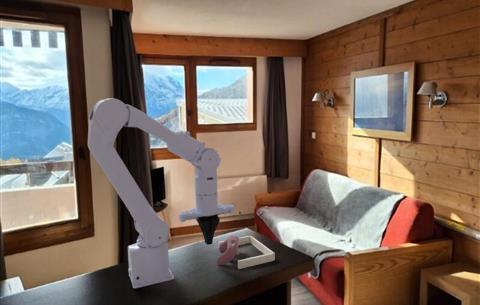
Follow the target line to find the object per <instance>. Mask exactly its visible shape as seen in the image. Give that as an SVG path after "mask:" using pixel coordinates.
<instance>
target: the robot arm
mask: <svg viewBox="0 0 480 305" xmlns="http://www.w3.org/2000/svg"><path fill="white" fill-rule="evenodd" d="M123 127H128V128H137V129H140V130H142V131H143V132H145V133H147V134H149V135H150V136H153V137H155V138H157V139H158V140H160V141H162V142H164V143H165V144H166V147H167V148H166V149H167V150H168V151H169V152H170V153H172V154H174V155H176V156H178V157H179V158H180V159H183V160H185V161H186V162H188V163H191V166H193V167H194V190H195V193H194V194H195V208H193V209H189V210H186V211H181V212H178V220H179V221H180V223H184V222H186V221H190V220H191V221H192V220H195V221H196V222H197V223H198V226H199V228H200V230H201V234H202V236H203V240H204V243H205V244H206V245H207V246H209V245H213V240H214V237H215V232H216V231H217V228H218V225H219V223H220V220H221V218H220V216H221V215H226V214H227V215H228V214H230V215H231V214H235V206H234V205H232V204H224V205H222V204H221V205H219V199H218V172H217V169H218V168H219V166H220V165H221V159H222V158H221V157H220V156H219V154H218V151H217V150H216V149H214V148H212V147H208V146H205V145H206V143H205V142H204V141H202V140H200V141H199V140H197V139H196V138H195V137H192V136H191V132H189V131H188V130H184V131H183V130H181V129H178V130H175V131H172V130H171V129H169V128H168V127H166V126H165V125H163V124H162V123H161V122H158V121H157V120H156V119H154V118H153V117H151V116H150V115H148V114H146V113H145V112H143V111H142V110H140V109H138V108H136V107H134V106H133V105H130V104H128V103H127V104H125V103H124V102H123V101H122V100H120V99H117V98H106V99H100V100H99V101H97V102H95V104H94V105H93V107H92V109H91V110H90V113H89V116H88V130H87V131H88V132H87V147H88V150H89V151H90V153H91V154H92V156H93V158H94V159H95V161H96V162H97V163H98V165H99V167H100V168H101V170H102V171H103V173H104V174H105V176H106V177H107V179H108V180H109V182H110V184H111V186H113V188H114V190H115V192H116V193H117V195H118V196H119V198H120V199H121V201H122V202H123V203H124V205H125V207H126V209H127V210H128V212H129V213H130V215H131V217H132V218H133V221H134V222H133V224H134V229H135V230H136V232H137V233H138V234H139V235H138V236H137V239H136V243H133V244H130V245H127V258H128V259H127V261H128V276H129V277H130V278H129V279H130V281H131V285H132V288H133V289H139V288H143V287H147V286H151V285H157V284H161V283H164V282H168V281H173V280H174V279H175V276H174V275H173V272H172V271H171V269H170V262H169V260H170V259H169V242H168V239H169V237H170V234H171V233H170V232H171V230H170V229H171V228H170V225H169V224H168V222H167V221H165V220H163V219H162V218H161V217H160V216H159V214H158V213H157V212H156V211H155V210H154V208H153V207H152V206H151V204H150V203H149V201H148V200H147V198H146V197H145V195H144V193H143V192H142V191H141V189H140V187H139V185H138V184H137V182H136V181H135V179H134V177H133V176H132V175H131V173H130V170H128V168H127V166H126V165H125V163H124V161H123V160H122V158H121V157H120V155H119V154H118V151H117V150H116V148H115V147H114V144H115V142H116V139H117V136H118V134H119V132H120V131H121V129H122V128H123Z"/></svg>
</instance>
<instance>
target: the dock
mask: <svg viewBox="0 0 480 305" xmlns="http://www.w3.org/2000/svg"><path fill="white" fill-rule="evenodd" d="M224 241H225V240H220V241H218V243H217V244H218V245H217V246H218V250H219V246H220V244H221V243H223V242H224ZM246 243H247V244H250V245H252V246H254V247H255V248H256V249H257V250H259V251H260V252H261V253H262V254H260V255H257V256H252V257H247V258H244V259H238V260H237V269H238V270H240V269H245V268H248V267H253V266H256V265H261V264H266V263H269V262H270V263H271V262H274V261H275V260H276V253H275V252H274V251H272V250H271V249H270V248H268V247H267V246H266V245H264V244H263V243H262V242H260V241H259V240H257V239H256V238H255V237H254V236H252V235H245V236H242V237H239V240H238V245H237V246H241V245H246Z"/></svg>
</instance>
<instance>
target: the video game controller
mask: <svg viewBox="0 0 480 305" xmlns="http://www.w3.org/2000/svg"><path fill="white" fill-rule="evenodd" d="M239 238H240V237H239V236H238V235H235V234H234V235H233V234H231V235H229V236H228V237H227V239H225V240H223V241H224V242H223V243H221V244H220V246H219V249H218V250H219V251H220V252H222V253H221V255H219V256H218V257H217V259H216V264H217V265H218V266H222V265H226V264H228V263H229V262H231V261H233V259H234V258H235V256H238V255H239V254H240V252H239V245H238V240H239Z"/></svg>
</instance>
